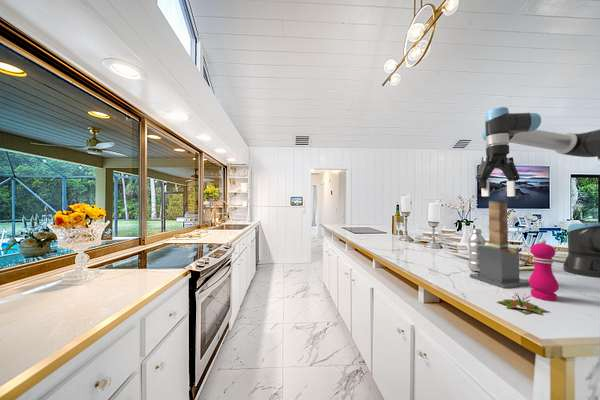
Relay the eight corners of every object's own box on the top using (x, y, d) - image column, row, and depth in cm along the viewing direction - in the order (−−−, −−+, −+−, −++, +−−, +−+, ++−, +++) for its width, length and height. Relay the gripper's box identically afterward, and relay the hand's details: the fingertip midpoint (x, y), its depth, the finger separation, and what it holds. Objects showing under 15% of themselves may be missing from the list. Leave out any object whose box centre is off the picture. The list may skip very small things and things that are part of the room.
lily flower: (517, 299, 81) (517, 286, 81) (561, 316, 69) (560, 300, 69) (487, 302, 79) (486, 288, 79) (527, 319, 67) (526, 303, 67)
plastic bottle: (468, 268, 118) (467, 228, 119) (485, 270, 114) (484, 229, 115) (468, 271, 113) (467, 229, 114) (486, 274, 109) (485, 230, 110)
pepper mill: (565, 302, 78) (564, 240, 78) (539, 300, 79) (538, 240, 79) (547, 294, 85) (546, 237, 85) (523, 292, 86) (522, 237, 86)
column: (497, 258, 102) (496, 200, 102) (508, 261, 98) (507, 200, 98) (489, 259, 101) (488, 200, 101) (500, 261, 97) (499, 200, 97)
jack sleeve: (495, 275, 107) (494, 244, 108) (531, 285, 94) (530, 249, 94) (469, 277, 104) (469, 245, 105) (503, 288, 91) (503, 251, 91)
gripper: (510, 149, 107) (511, 196, 106) (464, 146, 101) (465, 196, 101) (530, 145, 99) (531, 196, 99) (482, 142, 94) (483, 196, 93)
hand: (498, 196), depth 100 cm, fingers open, 13 cm apart
